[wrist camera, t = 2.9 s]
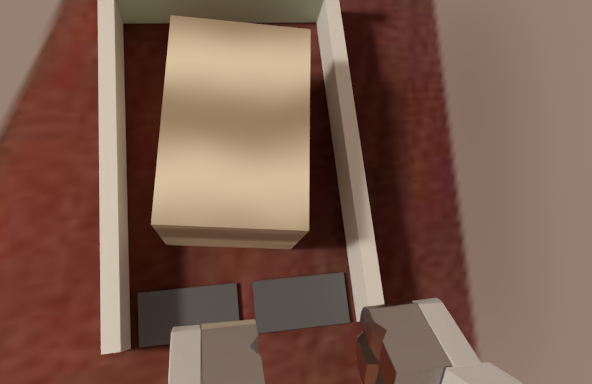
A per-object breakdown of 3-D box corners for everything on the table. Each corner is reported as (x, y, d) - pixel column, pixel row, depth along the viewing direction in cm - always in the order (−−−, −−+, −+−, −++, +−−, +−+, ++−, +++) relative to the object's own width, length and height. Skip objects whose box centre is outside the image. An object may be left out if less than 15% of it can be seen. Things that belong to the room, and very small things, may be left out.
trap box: (371, 319, 31) (392, 320, 27) (113, 350, 28) (96, 355, 24) (327, 10, 36) (340, -26, 33) (108, 11, 34) (93, -29, 30)
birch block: (290, 249, 31) (309, 230, 25) (166, 245, 30) (150, 224, 24) (293, 85, 35) (310, 29, 28) (181, 75, 33) (170, 15, 27)
